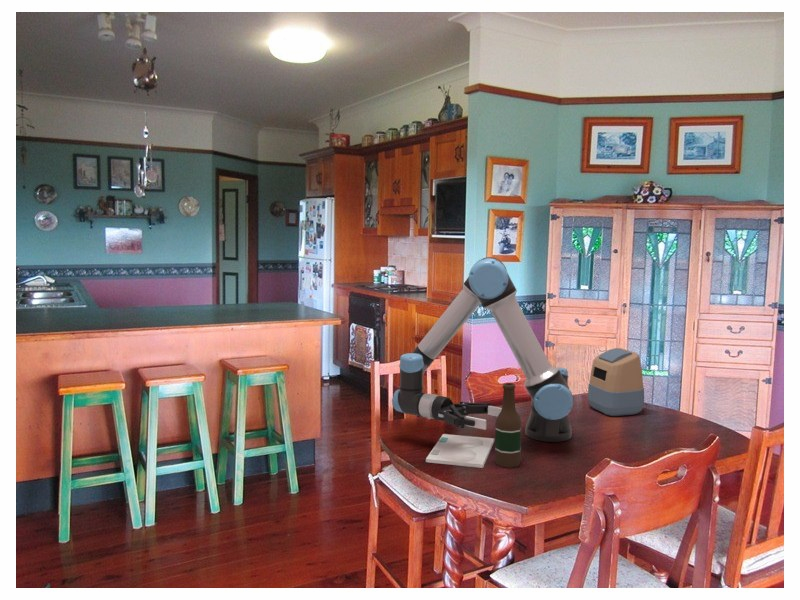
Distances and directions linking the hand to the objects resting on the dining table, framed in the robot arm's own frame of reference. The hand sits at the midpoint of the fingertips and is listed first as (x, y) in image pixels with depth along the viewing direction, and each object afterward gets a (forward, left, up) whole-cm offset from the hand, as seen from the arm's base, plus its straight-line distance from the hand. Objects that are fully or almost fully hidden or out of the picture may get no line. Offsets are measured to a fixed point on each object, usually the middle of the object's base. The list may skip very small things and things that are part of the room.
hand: (497, 419), depth 190 cm
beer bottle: (-3, +1, -13) cm, 14 cm away
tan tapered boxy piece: (-36, -65, -13) cm, 76 cm away
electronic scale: (+12, -6, -13) cm, 18 cm away
